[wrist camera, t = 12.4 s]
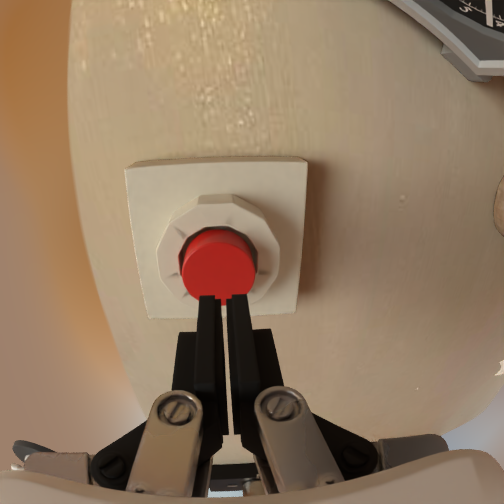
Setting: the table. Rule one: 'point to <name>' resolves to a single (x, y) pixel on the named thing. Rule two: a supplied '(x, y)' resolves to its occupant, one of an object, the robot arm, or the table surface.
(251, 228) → the switch box
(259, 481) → the knob
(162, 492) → the robot arm
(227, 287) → the power button
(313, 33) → the table surface
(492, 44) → the alarm clock
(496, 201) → the figurine
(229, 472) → the panel
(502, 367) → the bat toy
